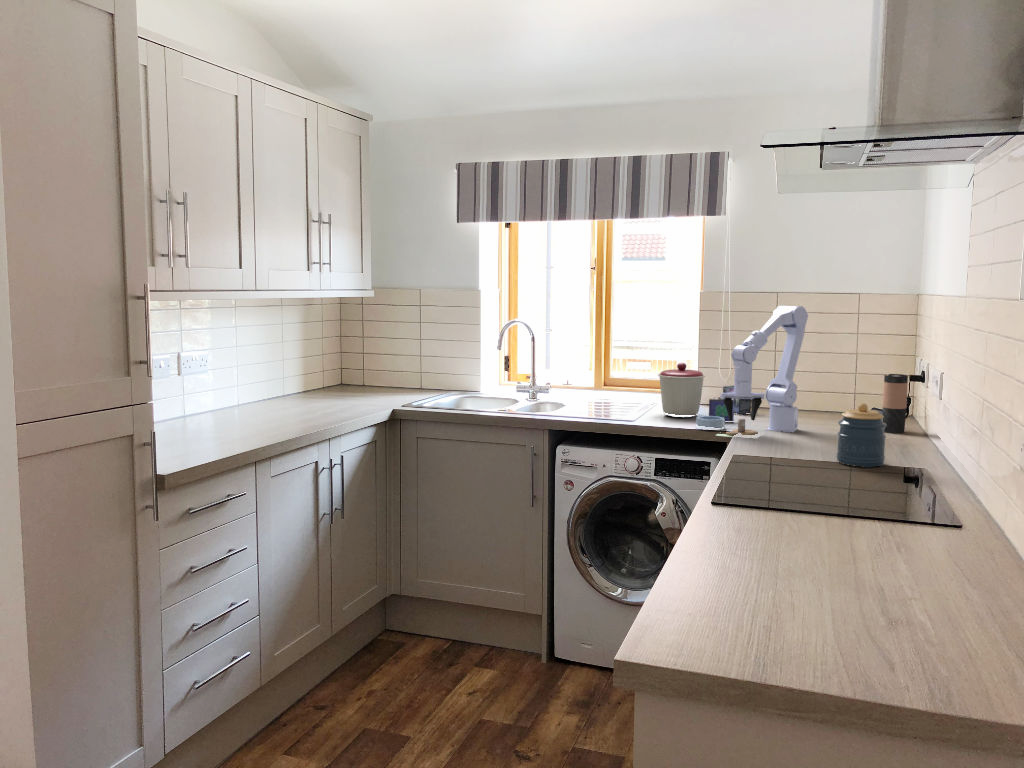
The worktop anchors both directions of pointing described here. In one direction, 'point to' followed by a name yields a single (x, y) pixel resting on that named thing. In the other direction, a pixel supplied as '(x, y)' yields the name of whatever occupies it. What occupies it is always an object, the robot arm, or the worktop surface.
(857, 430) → the canister
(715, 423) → the bowl
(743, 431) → the lid
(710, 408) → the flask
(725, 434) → the mat
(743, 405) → the small box
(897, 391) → the travel mug
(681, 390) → the canister
